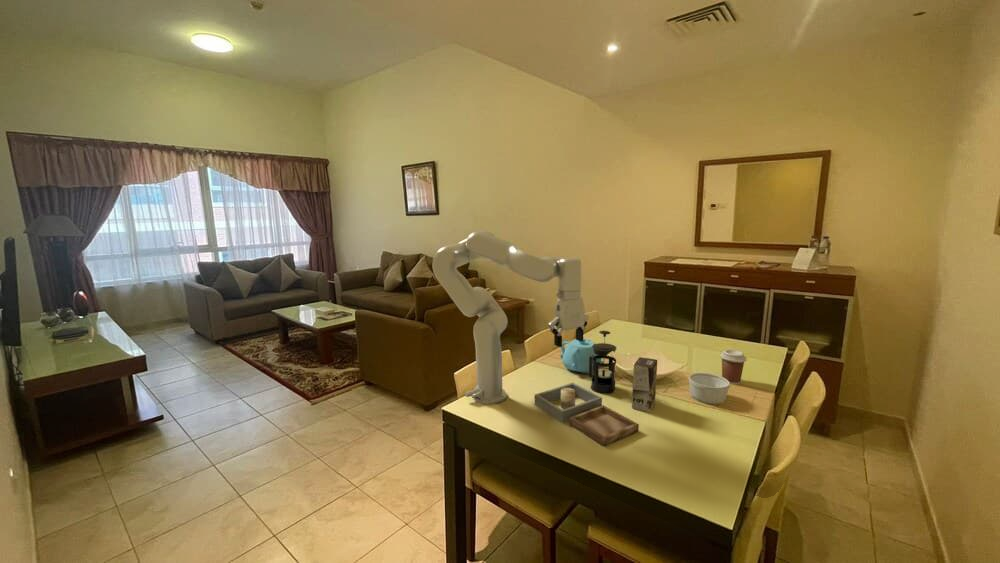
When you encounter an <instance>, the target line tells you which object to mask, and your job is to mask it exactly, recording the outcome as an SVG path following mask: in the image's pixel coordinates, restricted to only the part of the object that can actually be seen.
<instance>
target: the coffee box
mask: <svg viewBox="0 0 1000 563" xmlns="http://www.w3.org/2000/svg"><path fill="white" fill-rule="evenodd" d="M632 372H633V376H632V396H631V397H632V398H631V409H635V410H639V411H643V412H646V413H650V412H651V411H652V410H653V407H654V405H655V403H656V394H657V375H658V374H657V373H658V359H654V358H648V357H641V356H639V357H638V358H637V360H636V361H635V362H634V364H633V371H632Z"/></svg>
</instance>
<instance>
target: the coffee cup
mask: <svg viewBox="0 0 1000 563" xmlns="http://www.w3.org/2000/svg"><path fill="white" fill-rule="evenodd" d="M719 357H720V358H721V377H723V378H725V379H726V380H728V381H729V383H730V385H740V384H741V380H742V375H743V371H744V365H745V362H747V359H748V358H747V357H746V356H745V353H743V351H740V350H737V349H731V348H729V349H724V350H723V352H722V353H720V355H719Z"/></svg>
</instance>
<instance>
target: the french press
mask: <svg viewBox="0 0 1000 563" xmlns="http://www.w3.org/2000/svg"><path fill="white" fill-rule="evenodd" d="M598 334H601V335H603V342H600V343H595V344H594V345H593V346H592V348H593V352H594V353H595V354H597V356H594V355H591V356H589V373H588V378H591V383H590V384H591V385H590V390H591V391H593V392H595V393H597V394H601V395H602V394H603V395H609V394H613V393H615V392H616V390H617V389H616V388H617V387H616V379H615V375H616V373H615V371H616V370H615V369H616V365H617V359H616V358H615V357H614V356H611V355H609V354H610V353H612V352H613V353H616V351H617V346H616V345H614V344H611V343H606V337H607V335H610V334H611V332H610V331H608V330H599V332H598ZM599 358H602V359H603V360H602V361H603V363H601V362H600V363H599V362H596V359H599ZM605 360H608V363H607V362H606V363H605ZM592 366H593V372H592ZM599 366H601V367H599ZM602 367H603V368H602Z"/></svg>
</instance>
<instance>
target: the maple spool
mask: <svg viewBox="0 0 1000 563" xmlns="http://www.w3.org/2000/svg"><path fill="white" fill-rule="evenodd" d="M575 405H576V396H575V390H574V389H572V388H563V389H561V398H560V409H562V410H564V409H566V408H569V407H572V406H575Z"/></svg>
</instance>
